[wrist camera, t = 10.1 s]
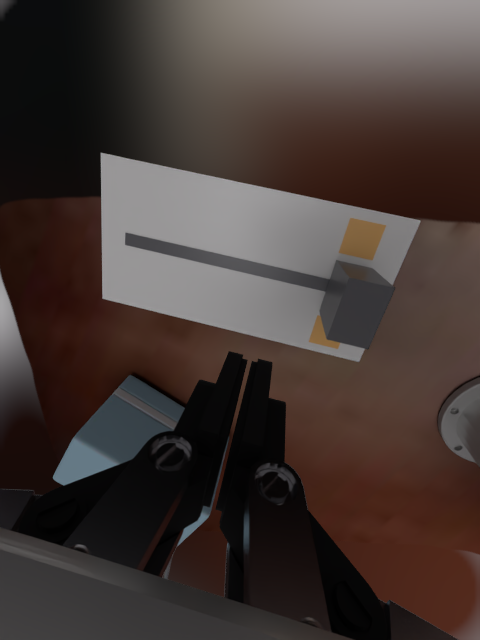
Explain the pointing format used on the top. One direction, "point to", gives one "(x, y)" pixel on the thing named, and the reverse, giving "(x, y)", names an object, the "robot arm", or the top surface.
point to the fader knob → (354, 304)
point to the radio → (123, 436)
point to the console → (236, 251)
